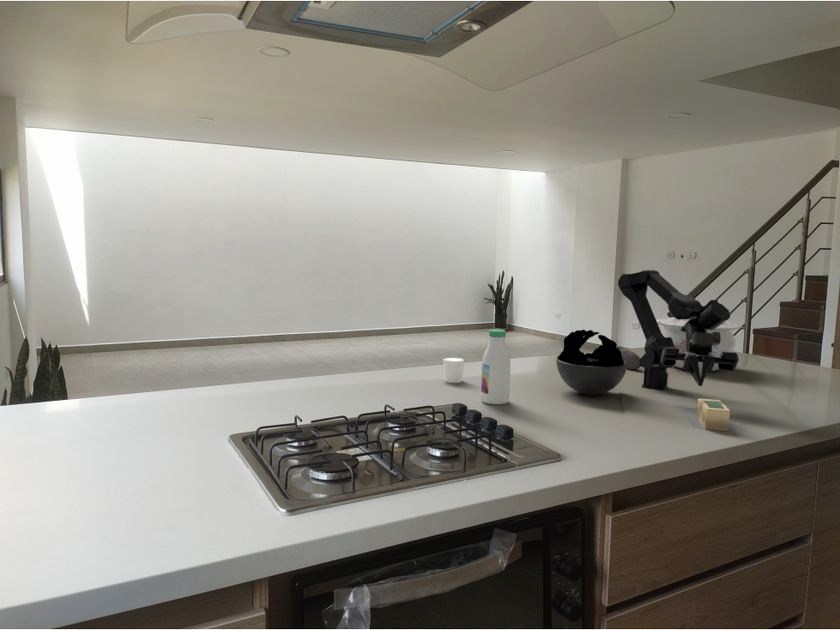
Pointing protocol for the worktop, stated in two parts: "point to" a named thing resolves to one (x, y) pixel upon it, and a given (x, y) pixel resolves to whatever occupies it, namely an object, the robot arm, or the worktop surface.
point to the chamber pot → (726, 329)
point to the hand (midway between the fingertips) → (700, 385)
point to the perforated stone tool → (630, 358)
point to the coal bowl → (590, 364)
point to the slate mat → (696, 423)
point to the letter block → (713, 414)
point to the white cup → (453, 369)
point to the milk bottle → (496, 370)
